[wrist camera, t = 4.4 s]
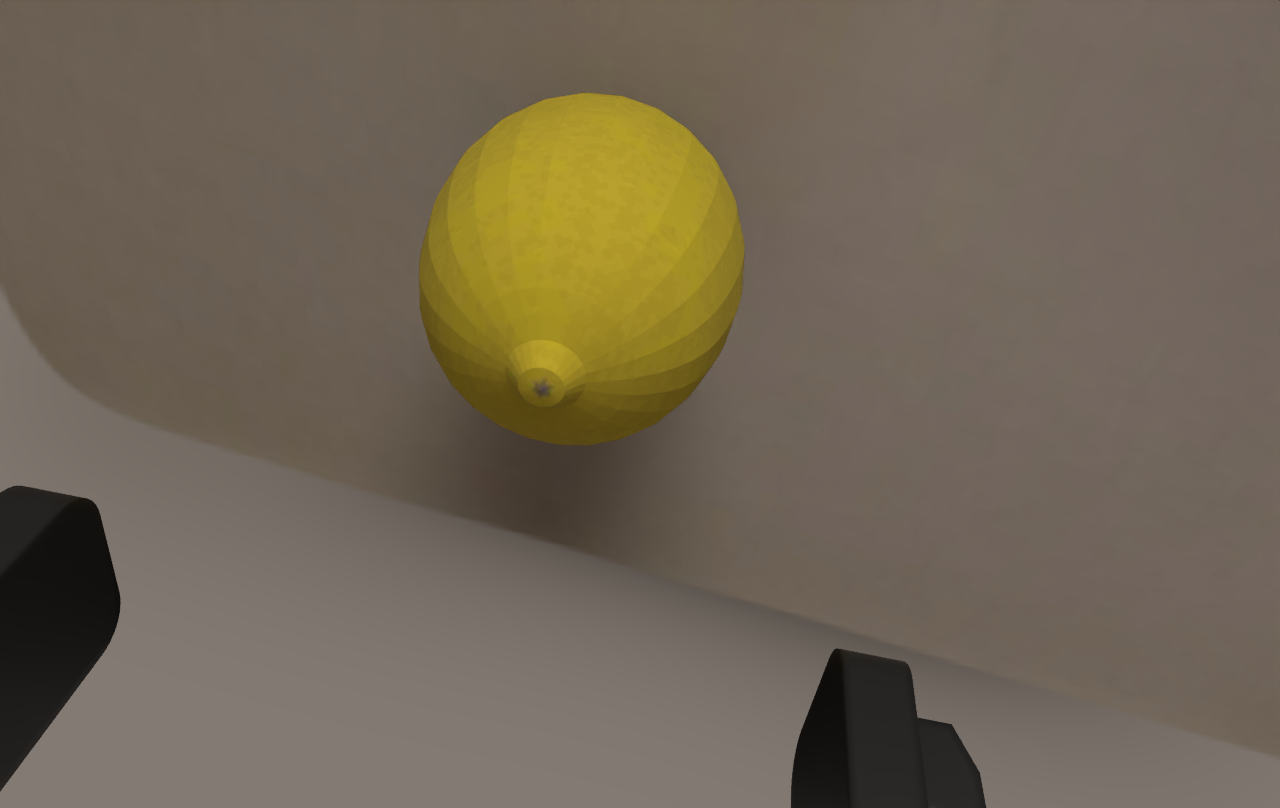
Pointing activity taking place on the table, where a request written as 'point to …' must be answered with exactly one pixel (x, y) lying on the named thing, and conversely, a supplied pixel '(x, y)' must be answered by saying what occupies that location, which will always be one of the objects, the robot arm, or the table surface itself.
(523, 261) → the lemon
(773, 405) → the table surface
